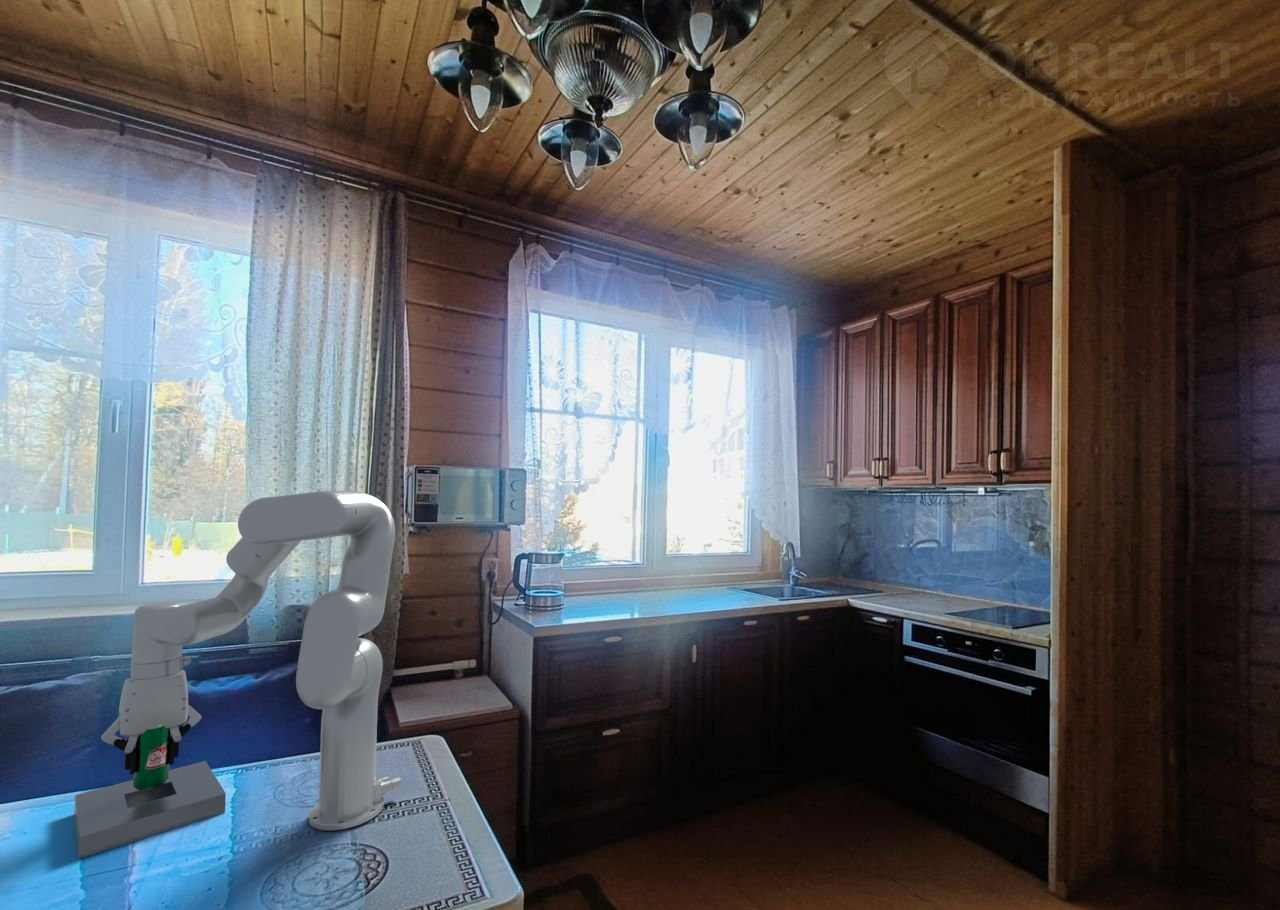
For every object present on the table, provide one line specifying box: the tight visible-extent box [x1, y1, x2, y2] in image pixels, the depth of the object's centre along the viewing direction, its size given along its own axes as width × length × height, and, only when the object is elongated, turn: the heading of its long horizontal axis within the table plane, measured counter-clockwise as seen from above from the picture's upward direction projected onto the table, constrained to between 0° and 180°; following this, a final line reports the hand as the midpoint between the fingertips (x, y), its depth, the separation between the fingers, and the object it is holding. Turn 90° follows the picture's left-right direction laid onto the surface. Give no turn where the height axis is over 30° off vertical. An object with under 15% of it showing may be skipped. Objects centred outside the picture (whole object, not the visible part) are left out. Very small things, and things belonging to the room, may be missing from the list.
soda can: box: [133, 725, 171, 790], centre depth 112 cm, size 5×5×12 cm
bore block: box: [73, 760, 227, 860], centre depth 111 cm, size 20×20×4 cm
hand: (151, 766), depth 112 cm, fingers closed on soda can, 5 cm apart
